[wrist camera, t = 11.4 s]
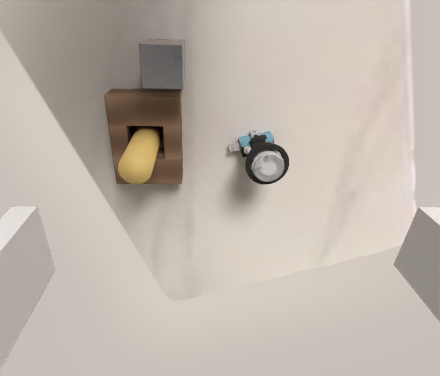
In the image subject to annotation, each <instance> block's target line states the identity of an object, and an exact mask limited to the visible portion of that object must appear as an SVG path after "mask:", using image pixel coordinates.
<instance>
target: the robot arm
mask: <svg viewBox="0 0 440 376" xmlns="http://www.w3.org/2000/svg"><path fill="white" fill-rule="evenodd" d="M394 265H395V267H396V268H397V269H398V270H399V272H400V273H401V274H402V275H403V276H404V278H405V279H406V280H407V282H408V283H409V284H410V285H411V287H412V288H413V289H414V290H415V292H416V293H417V294H418V295H419V297H420V298H421V299H422V300H423V302H424V303H425V304H426V305H427V306H428V308H429V309H430V310H431V312H432V313H433V314H434V315H435V317H436V318H437V319H438V320H439V321H440V208H439V207H419V208H418V210H417V212H416V214H415V217H414V219H413V221H412V224H411V226H410V228H409V231H408V233H407V235H406V237H405V240H404V242H403V244H402V247H401V249H400V252H399V254H398V256H397V258H396V261H395V263H394ZM54 271H55V268H54V265H53V261H52V257H51V254H50V250H49V247H48V243H47V239H46V236H45V233H44V229H43V225H42V222H41V219H40V215H39V212H38V208H37V206H23V207H22V206H12V207H11V208H10V209H9V210H8V211H7V212H6V213H5V214H4V215H3V216H2V218H0V370H1V368H2V367H3V365H4V363H5V361H6V359H7V357H8V356H9V354H10V352H11V350H12V348H13V346H14V344H15V343H16V341H17V339H18V337H19V335H20V333H21V332H22V330H23V328H24V326H25V324H26V322H27V321H28V319H29V317H30V315H31V313H32V311H33V310H34V308H35V306H36V304H37V302H38V300H39V299H40V297H41V295H42V293H43V291H44V289H45V288H46V286H47V284H48V282H49V280H50V278H51V276H52V275H53V273H54Z"/></svg>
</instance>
